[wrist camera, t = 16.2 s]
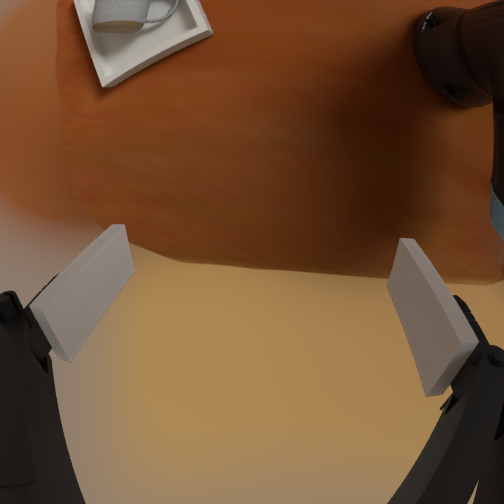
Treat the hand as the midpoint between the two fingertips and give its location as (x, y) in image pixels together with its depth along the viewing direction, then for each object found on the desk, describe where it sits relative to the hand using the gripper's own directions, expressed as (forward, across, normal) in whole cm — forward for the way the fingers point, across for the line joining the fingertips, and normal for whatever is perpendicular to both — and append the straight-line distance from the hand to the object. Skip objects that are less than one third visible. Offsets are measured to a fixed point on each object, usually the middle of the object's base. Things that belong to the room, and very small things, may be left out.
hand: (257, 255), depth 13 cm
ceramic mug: (+26, -18, +22) cm, 38 cm away
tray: (+27, -19, +23) cm, 40 cm away
